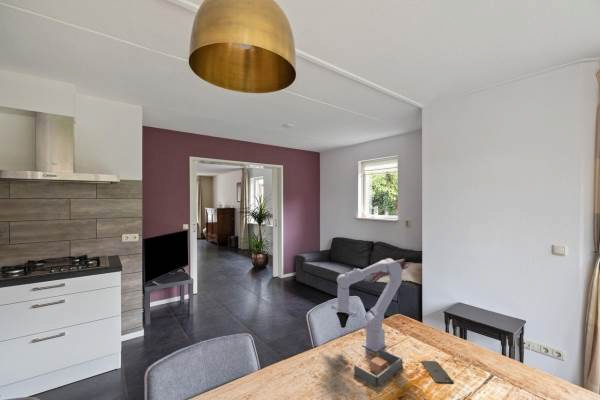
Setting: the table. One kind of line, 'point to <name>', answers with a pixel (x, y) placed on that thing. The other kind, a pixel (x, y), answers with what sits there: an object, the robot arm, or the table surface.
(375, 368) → the terracotta block
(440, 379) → the smartphone
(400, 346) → the table surface
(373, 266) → the robot arm
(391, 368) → the box
